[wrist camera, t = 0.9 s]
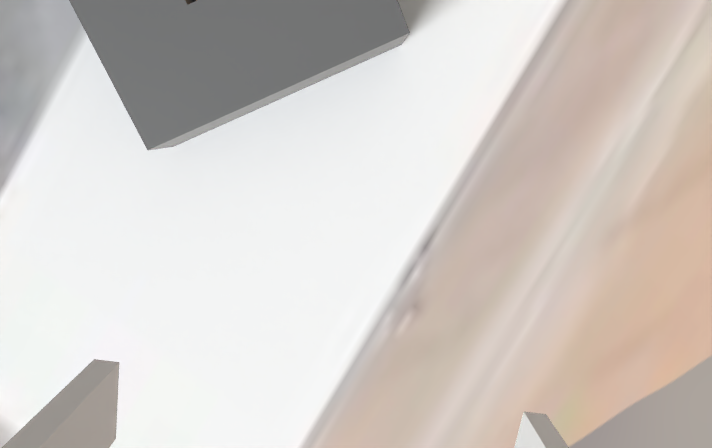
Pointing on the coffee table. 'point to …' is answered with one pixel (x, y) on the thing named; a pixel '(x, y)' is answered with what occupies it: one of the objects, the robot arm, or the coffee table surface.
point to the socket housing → (227, 54)
